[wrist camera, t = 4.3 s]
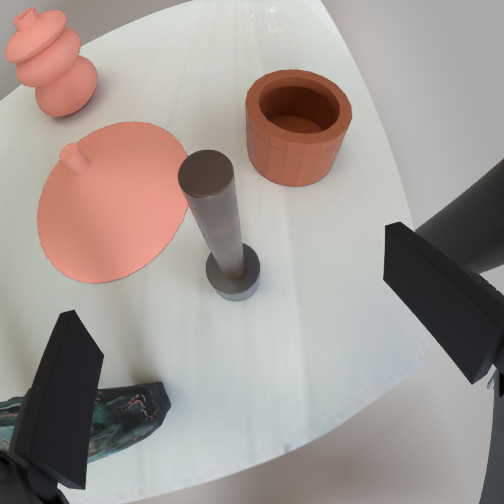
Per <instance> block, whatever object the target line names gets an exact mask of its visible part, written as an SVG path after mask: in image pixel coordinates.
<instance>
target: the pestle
mask: <svg viewBox="0 0 504 504" xmlns="http://www.w3.org/2000/svg"><path fill="white" fill-rule="evenodd" d="M178 183H179V185H180V188H181V190H182V192H183V194H184V196H185V198H186V200H187V203H188V205H189V207H190V209H191V211H192V213H193V215H194V217H195V219H196V221H197V224H198V226H199V228H200V230H201V232H202V234H203V236H204V238H205V240H206V242H207V244H208V246H209V248H210V250H211V253H210V255H209V257H208V259H207V262H206V274H207V277H208V280H209V281H210V283H211V284H212V286H213V287H214V288H215V289H216V291H217V292H218V293H219V294H220V295H221V296H222V297H223V298H225V299H227V300H230V301H242V300H245V299H247V298H249V297H250V296H251V295H252V294H253V293H254V292H255V291H256V289H257V287H258V284H259V275H260V262H259V259H258V256H257V255H256V253H255V252H254V250H253V249H252V248H251V247H249V246H248V245H246V244H244V243H242V237H241V229H240V221H239V213H238V205H237V196H236V188H235V180H234V171H233V166H232V163H231V161H230V160H229V159H228V158H227V157H226V156H225V155H224V154H222V153H220V152H218V151H215V150H201V151H198V152H195V153H193V154H191V155H190V156H188V157H187V158H186V159H185V160H184V161H183V163H182V164H181V166H180V168H179V171H178Z"/></svg>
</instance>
